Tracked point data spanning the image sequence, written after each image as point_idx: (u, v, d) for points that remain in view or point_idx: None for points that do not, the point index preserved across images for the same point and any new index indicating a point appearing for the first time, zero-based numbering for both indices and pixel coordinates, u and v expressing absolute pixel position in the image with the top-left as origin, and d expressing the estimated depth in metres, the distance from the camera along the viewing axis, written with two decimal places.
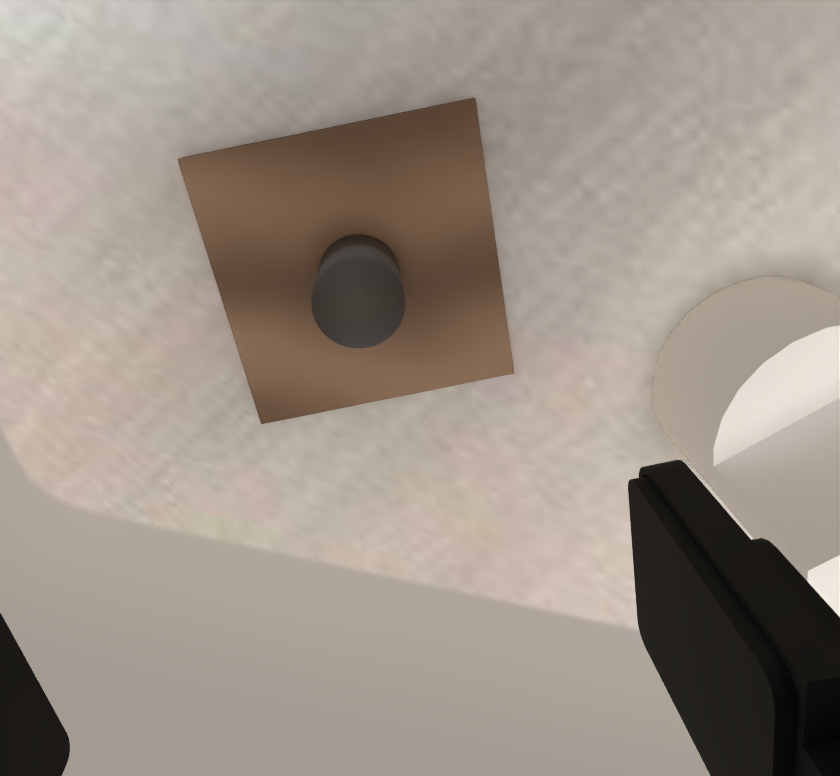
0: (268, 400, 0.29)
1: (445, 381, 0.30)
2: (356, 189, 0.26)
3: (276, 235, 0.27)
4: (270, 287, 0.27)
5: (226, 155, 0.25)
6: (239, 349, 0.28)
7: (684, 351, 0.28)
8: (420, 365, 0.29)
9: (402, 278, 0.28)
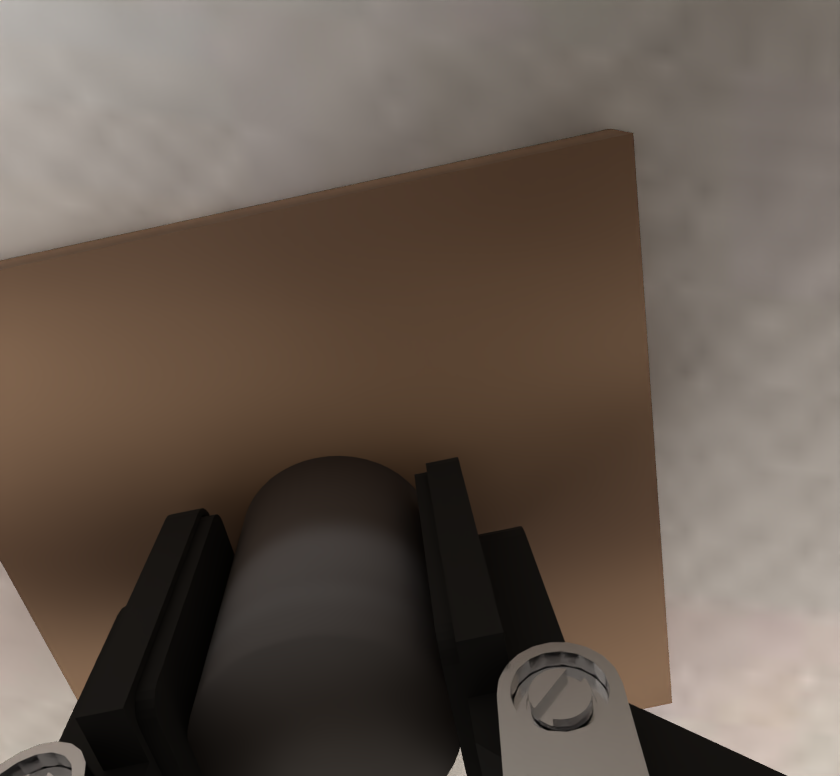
0: None
1: None
2: (325, 358, 0.11)
3: (134, 464, 0.11)
4: (133, 570, 0.12)
5: None
6: (75, 689, 0.13)
7: None
8: None
9: None
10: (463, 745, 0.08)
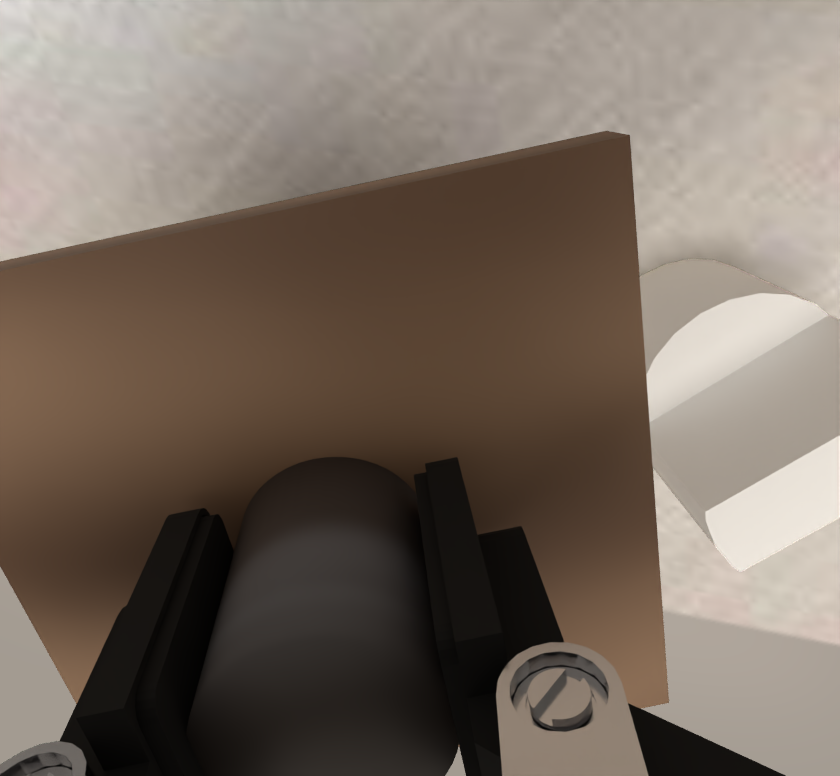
0: None
1: None
2: (323, 359, 0.11)
3: (132, 465, 0.11)
4: (131, 572, 0.12)
5: None
6: (73, 690, 0.13)
7: None
8: None
9: None
10: (462, 745, 0.08)
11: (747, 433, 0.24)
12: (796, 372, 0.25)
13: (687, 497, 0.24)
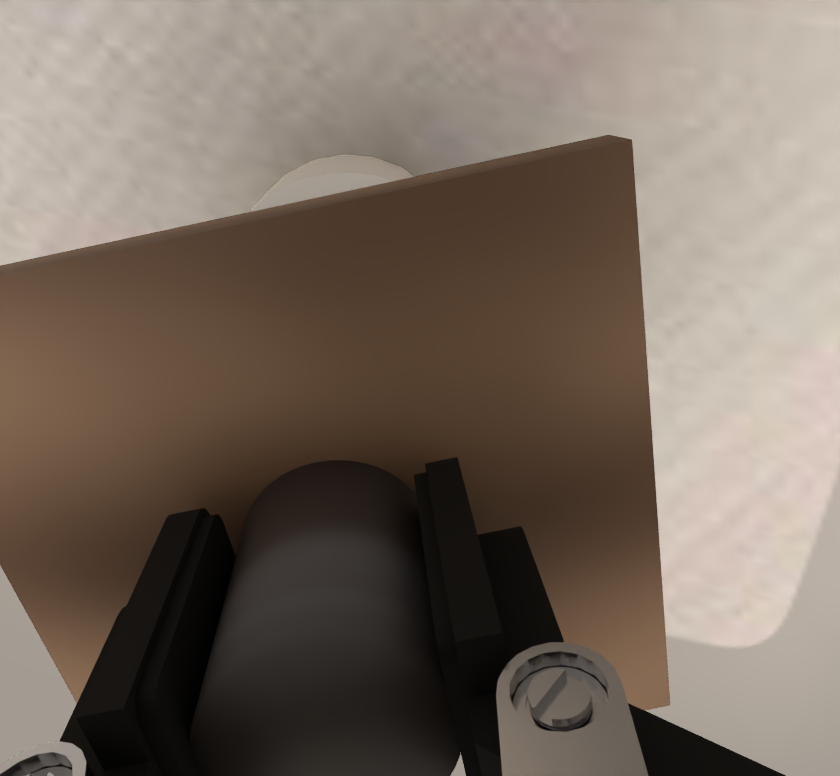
0: None
1: None
2: (325, 363, 0.11)
3: (135, 468, 0.11)
4: (133, 575, 0.12)
5: None
6: (75, 693, 0.13)
7: None
8: None
9: None
10: (462, 745, 0.08)
11: None
12: None
13: None
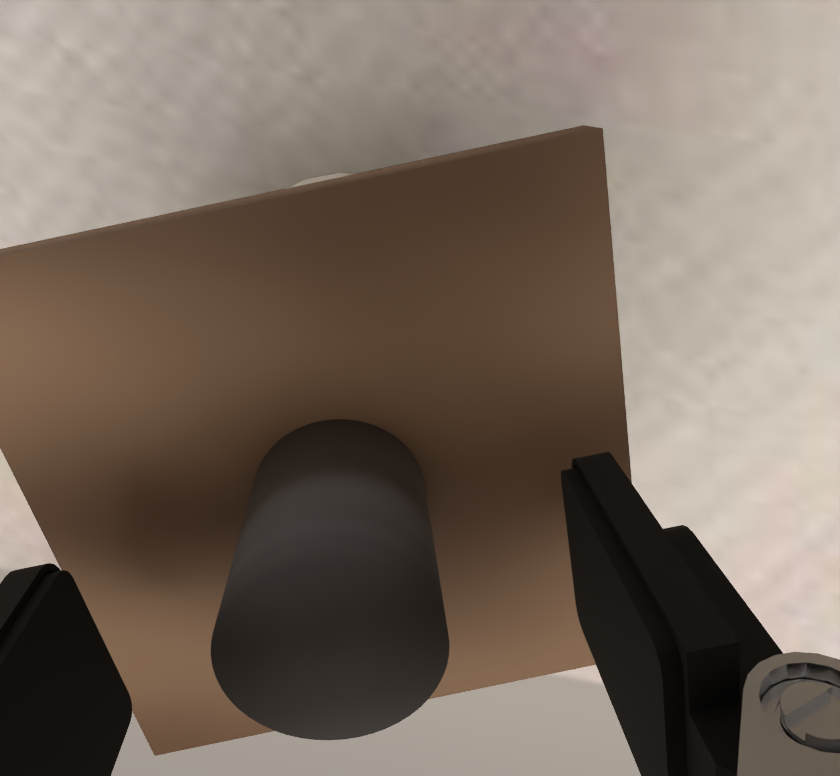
0: (165, 717, 0.15)
1: (512, 672, 0.15)
2: (329, 330, 0.12)
3: (157, 425, 0.12)
4: (153, 525, 0.13)
5: (29, 264, 0.11)
6: None
7: None
8: (463, 648, 0.15)
9: (430, 499, 0.13)
10: (670, 764, 0.07)
11: None
12: None
13: None
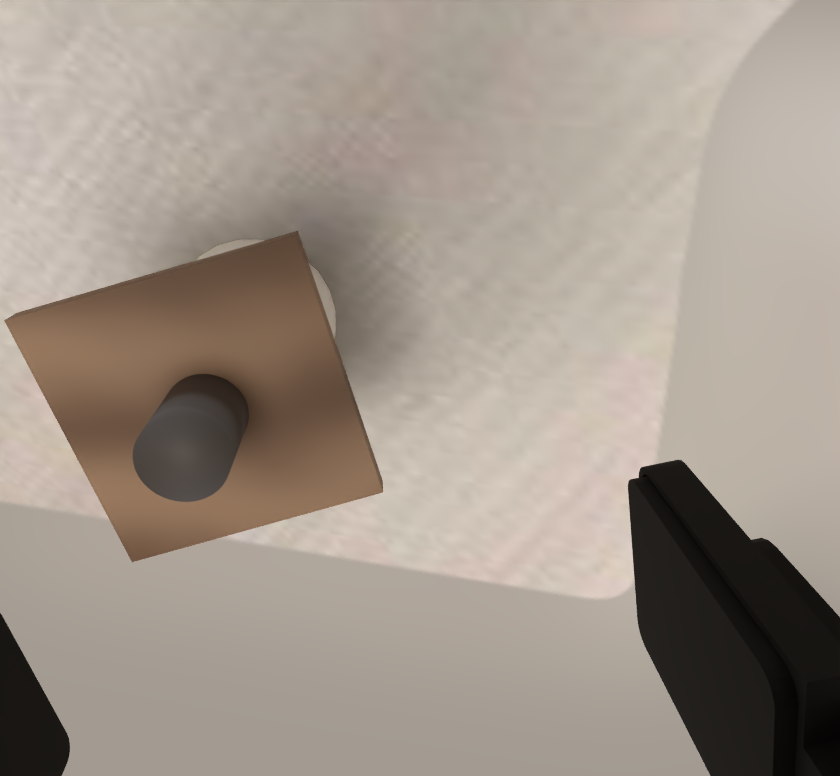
0: (135, 539, 0.29)
1: (313, 506, 0.29)
2: (189, 331, 0.26)
3: (115, 382, 0.26)
4: (118, 432, 0.27)
5: (53, 312, 0.25)
6: (97, 493, 0.28)
7: None
8: (284, 492, 0.29)
9: (251, 411, 0.27)
10: None
11: None
12: None
13: None
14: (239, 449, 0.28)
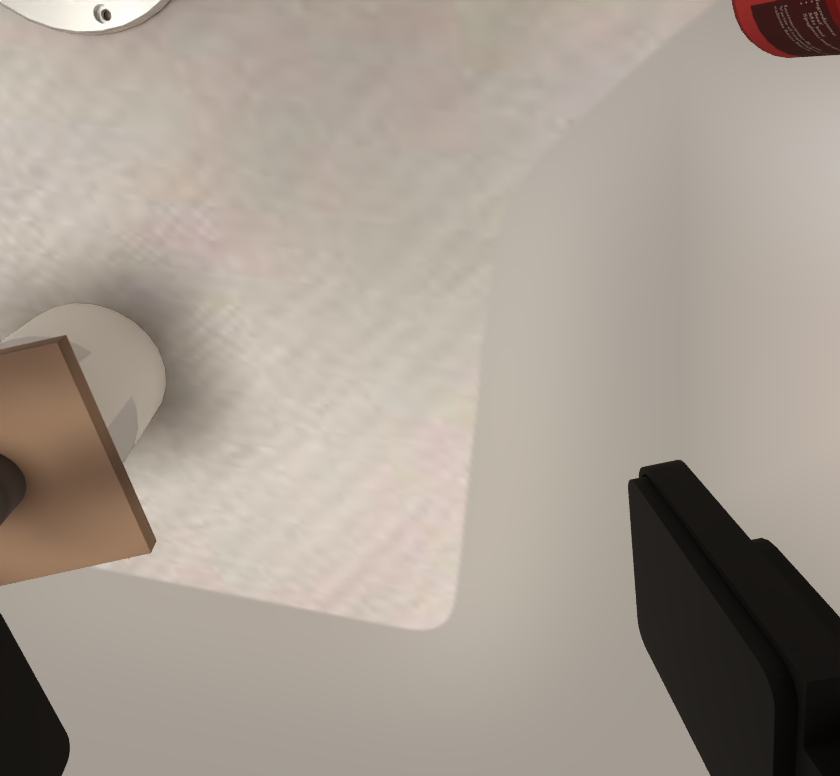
0: None
1: (89, 561, 0.33)
2: None
3: None
4: None
5: None
6: None
7: None
8: (62, 549, 0.33)
9: (28, 482, 0.32)
10: None
11: None
12: None
13: None
14: (19, 512, 0.32)
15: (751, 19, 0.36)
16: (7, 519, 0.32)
